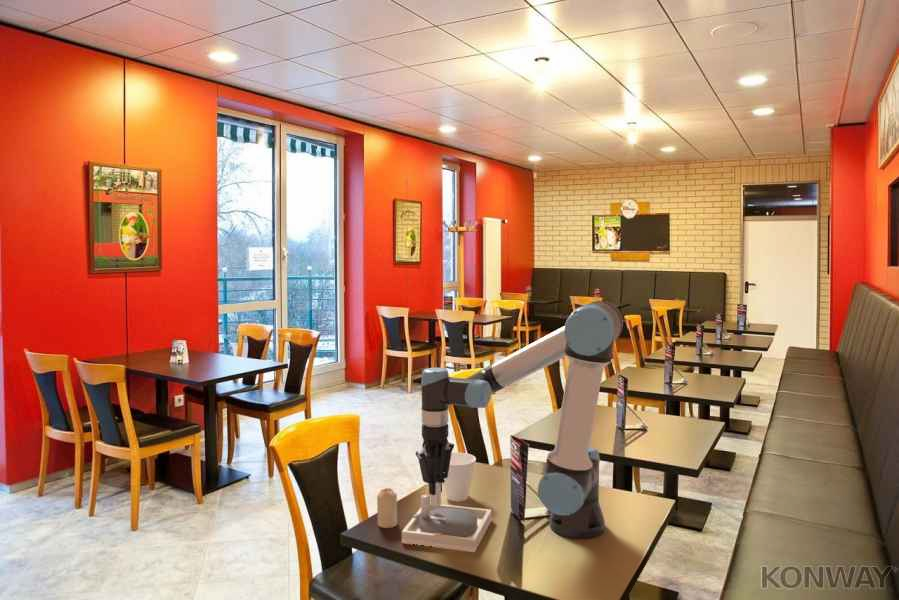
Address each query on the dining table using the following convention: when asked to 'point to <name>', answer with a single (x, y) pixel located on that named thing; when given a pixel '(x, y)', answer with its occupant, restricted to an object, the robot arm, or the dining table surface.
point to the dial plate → (470, 543)
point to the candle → (387, 508)
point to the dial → (446, 520)
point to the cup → (459, 476)
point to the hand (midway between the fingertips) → (435, 504)
